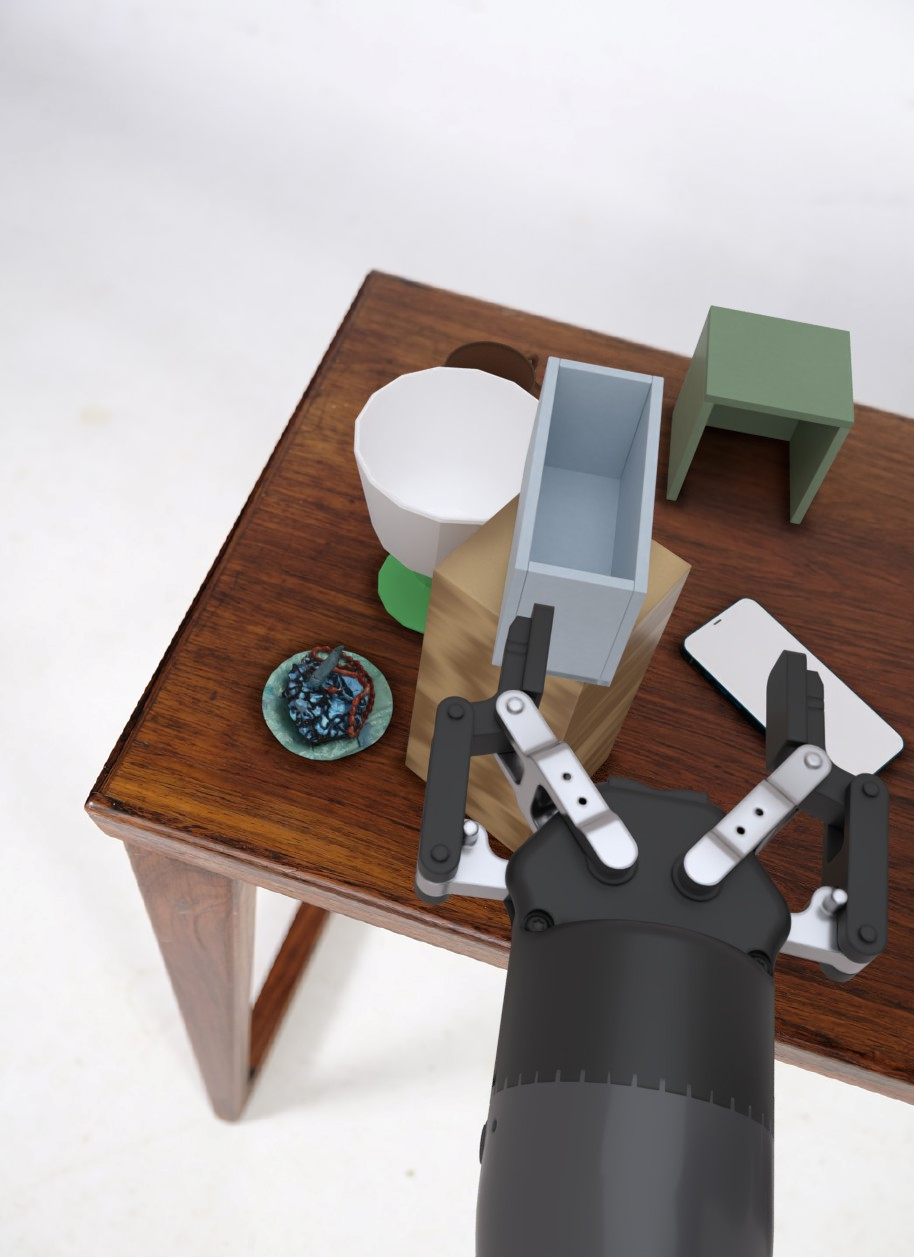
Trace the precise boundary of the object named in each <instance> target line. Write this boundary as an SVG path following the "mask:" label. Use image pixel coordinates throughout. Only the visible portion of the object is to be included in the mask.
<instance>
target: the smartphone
mask: <svg viewBox="0 0 914 1257" xmlns="http://www.w3.org/2000/svg"><path fill="white" fill-rule="evenodd" d="M783 650H789V651H794V652H800V653H805V654H806V656H807V670H812V671H817V672H818V673H819V676H820V678H821V680H822V682H823V684H824V712H825V747H826V752H827V754H828V756H829V757H830V759H831V760H832V762H833V763H834V764H835V765H837V766H838V767H840V768H841V769H843V770H845V771H847V772H849V773H851V774H853V775H855V776H857V775H858V774H861V773H870V774H873V775H876V776H877V775H878V774H879V773H880V772H881V771H882V770H883V769H884V768H886V767H887V766H888V765H889V764H891V763H892V762H893V761H894V760H895V759H896V758H897V757H899V756H900V754H901V753H902V752H903V751H904V750H905V746H906V744H905V740H904V737H903V736H902V735H901V734H900V733H899V731H897V729H895V728H894V727H893V725H891V724H890V723H889V722H887V720H886V719H885V718H883V717H882V716H881V714H879V713H878V712H877V711H876V710H875V709H874V708H873V707H871V705H870V704H868V703H867V702H866V701H865V700H864V699H863V698H862V697H861V696H860V695H859V694H858V693H856V691H855V690H854V689H853V688H851V686H849V685H848V684H847V683H846V682H845V681H843V679H842V678H841V677H840V676H838V675H837V674H836V673H835V671H833V670H831V669H830V668H829V667H828V666H827V665H826V664H825V663H824V662H823V661H822V660H821V659H820V658H818V656H817V655H815V654H814V652H813V651H811V649H809V648H808V647H807V646H806V645H805V644H804V643H803V642H801V641H800V640H799V639H798V638H797V637H796V636H795V635H794V634H793V633H792V632H791V631H790V630H788V628H786V626H784V625H783V624H782V623H781V622H780V621H779V620H777V618H775V616H773V615H772V614H771V613H770V612H769V611H768V610H767V609H766V608H765V607H763V605H762V604H761V603H759V602H758V601H757V600H755V599H754V598H751V597H741V598H739V599H737V600H736V601H734V602H733V603H732V604H730V605H729V606H727V607H726V608H724V609H722V610H721V611H720V612H719V613H718V614H716V615H715V616H713V617H712V618H711V619H709V620H708V621H706V622H704V624H702V625H700V626H699V627H698V628H696V629H695V630H694V631H692V632H690V633H689V634H687V635H686V636H685V637H684V639H683V641H682V643H681V645H680V652H681V655H682V656H683V657H684V659H685V660H686V661H687V662H688V663H689V664H690V665H691V666H692V667H693V668H694V669H696V671H697V672H698V673H699V674H700V675H701V676H703V677H704V679H705V680H707V681H708V682H709V683H710V684H711V686H713V687H714V689H716V691H718V692H719V693H720V694H721V695H722V696H723V697H724V698H725V699H726V700H727V701H728V702H729V703H730V704H731V705H732V706H733V707H734V708H735V710H737V711H738V712H739V713H740V714H741V715H742V716H743V717H744V718H745V719H746V720H747V721H748V722H750V724H751V725H752V726H753V727H754V728H755V729H757V731H759V733H760V734H762V735H763V737H765V738H766V687H767V681H768V677H769V674H770V672H771V670H772V668H773V667H774V665H775V663H776V661H777V660H778V658H779V656H780V655H781V653H782V651H783Z"/></svg>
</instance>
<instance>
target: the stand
mask: <svg viewBox="0 0 914 1257" xmlns="http://www.w3.org/2000/svg"><path fill="white" fill-rule="evenodd" d="M519 496H520V493H518V494H517V495H516V496H515V497H514V498H513V499H512V500H511V501H510V502H508V503H507V504H506V505H505V506H504V507H503V508H502V509H501V510H499V511H498V512H497V513H496V514H495V515H494V516H493V517H492V518H490V519H489V520H488V521H487V522H486V523H485V524H484V525H483V526H481V527H480V528H479V529H478V530H477V531H476V532H475V533H474V534H472V535H471V536H470V537H469V538H468V539H467V540H466V541H465V542H463V543H462V544H461V545H460V546H459V547H458V548H457V549H456V550H454V551H453V552H452V553H451V554H450V555H449V556H448V557H447V558H446V559H444V560H443V561H442V562H441V563H440V564H439V565H438V566H437V567H435V568H434V571H433V578H432V585H431V591H430V598H429V605H428V612H427V619H426V625H425V632H424V634H423V639H422V645H421V646H422V647H421V654H420V659H419V666H418V674H417V679H416V680H417V681H416V686H415V687H416V688H415V693H414V701H413V706H412V707H413V708H412V715H411V721H410V728H409V734H408V740H407V741H408V742H407V749H406V755H405V761H404V765H405V767H407V768H408V769H409V770H411V772H413V773H414V774H415V775H417V776H418V777H419V778H421V779H422V780H423V781H424V782H426V781H427V773H428V765H429V757H430V749H431V742H432V738H433V734H434V725H435V717H436V711H437V707H438V705H439V703H440V702H441V701H442V700H443V699H445V698H447V697H451V696H459V697H462V698H465V699H466V700H468V701H469V702H478V701H484V700H487V699H489V698H491V697H493V696H494V695H495V694H496V693H497V690H498V684H499V678H500V671H501V666H497V665H492V658H493V652H494V646H495V640H496V634H497V628H498V622H499V616H500V610H501V604H502V598H503V592H504V586H505V580H506V574H507V568H508V562H509V556H510V550H511V544H512V538H513V532H514V526H515V520H516V514H517V508H518V502H519ZM691 570H692V564H690V563H688V562H687V561H685V560H684V559H682V558H681V557H679V556H678V555H676V554H675V553H673V552H672V551H671V550H669V549H668V548H666V547H665V546H663V545H661V544H660V543H658V541H656V540H654V539H652V538H651V549H650V562H649V574H648V587H647V594H646V597H645V599H644V602H643V604H642V607H641V609H640V612H639V614H638V617H637V619H636V622H635V624H634V627H633V629H632V632H631V634H630V637H629V639H628V642H627V644H626V647H625V649H624V652H623V654H622V657H621V659H620V662H619V664H618V667H617V669H616V672H615V674H614V677H613V679H612V682H611V684H610V686H609V687H607V686H602V685H597V684H592V683H586V682H581V681H576V680H570V679H565V678H560V677H555V676H549V675H546V676H545V684H544V691H543V696H542V699H541V702H540V706H539V709H538V710H539V712H540V714H541V715H542V717H543V718H544V720H545V721H546V723H547V724H548V726H549V728H550V729H551V731H552V732H553V734H554V735H555V737H556V738H557V739H558V740H559V741H564V742H566V743H567V744H568V745H569V747H570V748H571V750H572V751H573V753H574V754H575V756H576V757H577V759H578V760H579V762H580V764H581V765H582V767H583V768H584V770H585V771H586V773H587V774H588V776H589V777H590V779H591V778H592V777H593V775H595V773H596V772H597V771H598V770H599V769H600V767H601V766H602V765H604V763H605V762H606V761H607V759H608V758H609V756H610V753H611V751H612V749H613V747H614V744H615V742H616V740H617V738H618V735H619V733H620V731H621V728H622V726H623V724H624V722H625V719H626V717H627V714H628V712H629V710H630V708H631V706H632V704H633V701H634V699H635V697H636V694H637V692H638V690H639V688H640V685H641V683H642V681H643V678H644V677H645V674H646V671H647V669H648V667H649V665H650V663H651V660H652V658H653V656H654V653H655V651H656V649H657V647H658V644H659V642H660V640H661V638H662V635H663V633H664V631H665V629H666V626H667V624H668V622H669V619H670V617H671V615H672V613H673V610H674V608H675V606H676V603H677V601H678V599H679V596H680V594H681V592H682V589H683V587H684V585H685V583H686V581H687V578H688V576H689V574H690V572H691ZM465 815H467V816H468V817H469V818H470V819H471V820H474V821H476V822H478V823H480V824H481V825H482V826H483V827H484V828H485V830H486V832H487V833H488V834H490V835H491V836H493V837H494V838H495V839H497V840H498V841H499V842H500V843H502V844H503V845H504V846H505V847H506V848H508V849H509V850H510V851H511V852H513V853H514V852H515V851H516V850H517V849H518V848H519V847H520V846H521V845H522V844H523V843H524V842H525V841H526V840H527V839H529V838H530V837H531V836H532V835H533V834H534V833H533V832H532V830H531V828H530V827H529V825H528V823H527V822H526V820H525V818H524V817H523V815H522V813H521V812H520V810H519V808H518V805H517V802H516V798H515V793H514V790H513V788H512V787H511V785H510V783H509V782H508V780H507V778H506V777H505V775H504V773H503V772H502V770H501V768H500V767H499V765H498V763H497V762H496V760H495V759H494V757H493V755H492V754H488V755H481V756H473V757H471V759H470V769H469V779H468V789H467V799H466V809H465Z"/></svg>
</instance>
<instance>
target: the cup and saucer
mask: <svg viewBox="0 0 914 1257" xmlns="http://www.w3.org/2000/svg"><path fill="white" fill-rule="evenodd" d="M539 357H540V356H539V355H538V352H535V351H531V352H528V353H526V354H523V353H522V352H521V351H519V350H518V349H516V348H515V347H512V346H510V345H507V344H505V343H502V342H497V341H492V340H491V341H490V340H478V341H477V340H476V341H470V342H468V343H464V344H462V345H460V346H458V347H457V348H455V349H453V350H452V351H451V352H450V353H449V354H448V356H447V357H446V359H445V361H444V364H443V365H441V366H439V367H450V368H466V369H478V370H481V371H484V372H487V373H490V374H492V375H495V376H498V377H501V378H504V379H507V380H509V381H512V382H514V383H516V384H517V385H518V386H520V387H521V388H522V389H524V390H525V391H527V392H528V393H529V394H531V395H532V396H533V397H535V398H536V399H537V400H539V398H540V393H541V389H542V385H541V384H539V383H538V381H537V380H536V379H537V375H536V369H537V367H538V365H539V362H540V358H539Z"/></svg>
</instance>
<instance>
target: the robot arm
mask: <svg viewBox="0 0 914 1257" xmlns="http://www.w3.org/2000/svg"><path fill="white" fill-rule="evenodd" d="M554 610H555V606H549V605H544V604H538V603H534V606H533V610H532V614H531V618H529V617H523V616H518V615H517V616H516V618H515V619H514V621H513V622H512V623H511V625H510V626H509V630H508V635H507V639H506V643H505V648H504V653H503V659H502V665H501V671H500V678H499V684H498V690H497V693H496V694H495V695H494V696H493V697H491V698H489V699H487V700H484V701H478V702H469V701H468V700H466V699H465V698H462V697H459V696H451V697H447V698H445V699H443V700H442V701H441V702H440V703H439V705H438V707H437V711H436V717H435V725H434V734H433V738H432V742H431V749H430V757H429V765H428V773H427V781H425V790H424V799H423V806H422V815H421V823H420V832H419V839H418V847H417V856H416V862H415V864H416V865H415V871H414V880H413V890H414V893H415V895H416V897H417V898H418V899H419V901H421V902H423V903H424V904H427V905H430V906H438V905H441V904H444V903H445V902H447V901H448V900H449V899H450V898H451V896H452V895H457V896H465V897H473V898H481V899H487V900H488V899H489V900H495V901H502V903H503V905H504V908H505V910H506V912H507V915H508V918H509V923H510V929H511V941H510V948H509V955H508V964H507V971H506V978H505V986H504V992H503V1000H502V1007H501V1015H500V1022H499V1030H498V1036H497V1037H498V1038H497V1044H496V1053H495V1059H494V1065H493V1073H492V1081H491V1089H490V1095H489V1096H490V1098H489V1106H488V1112H487V1118H486V1121H485V1123H484V1124H483V1127H482V1129H481V1135H480V1140H479V1141H480V1142H479V1150H478V1153H479V1154H478V1158H479V1160H478V1161H479V1164H480V1172H479V1180H478V1186H477V1196H476V1197H477V1198H476V1209H475V1232H474V1234H475V1236H474V1237H475V1238H474V1240H475V1241H474V1242H475V1248H474V1249H475V1254H474V1255H475V1257H774V1243H775V1242H774V1239H775V1058H776V1057H775V1056H776V1054H775V1053H776V1052H775V1051H776V1050H775V1046H776V1045H775V1043H776V1041H775V1038H776V1036H775V1034H776V1033H775V1032H776V1028H775V1027H776V1024H775V1023H776V983H775V982H776V981H775V965H776V962H777V958H778V956H779V954H780V953H781V954H785V955H789V956H793V957H797V958H801V959H805V960H809V961H813V962H817V963H818V967H819V969H820V971H821V972H822V973H823V975H824V976H825V977H826V978H828V979H830V980H832V981H834V982H838V983H846V982H849V981H850V980H852V979H853V978H854V977H855V976H857V974H859V973H860V972H861V971H862V970H863V969H864V968H865V967H867V966H868V965H869V964H870V963H871V962H872V961H874V960H875V959H876V958H877V957H878V956H879V955H881V953H883V952H884V951H885V950H886V949H887V946H888V943H889V942H888V941H889V862H890V861H889V858H890V857H889V856H890V855H889V854H890V853H889V851H890V849H889V848H890V841H889V840H890V791H889V788H888V785H887V784H886V782H885V781H884V780H883V779H882V778H880V777H879V776H878V775H877V774H876V775H873V774H870V773H861V774H858V775H857V776H855V775H853V774H851V773H849V772H847V771H845V770H843V769H841V768H840V767H838V766H837V765H835V764H834V763H833V762H832V760H831V759H830V757H829V756H828V754H827V752H826V747H825V712H824V684H823V682H822V680H821V678H820V676H819V673H818V672H817V671H812V670H807V656H806V654H805V653H800V652H794V651H789V650H783V651H782V653H781V655H780V656H779V658H778V660H777V661H776V663H775V665H774V667H773V668H772V670H771V672H770V674H769V677H768V681H767V687H766V737H765V772H767V773H770V775H769V776H768V777H766V778H764V779H762V780H761V781H760V782H759V783H758V784H756V786H755V787H754V788H753V789H752V790H751V791H750V792H749V793H748V794H747V795H745V797H744V798H743V799H742V800H740V801H739V803H738V804H737V805H735V806H734V807H733V809H732V810H730V811H729V812H728V813H727V812H726V811H724V809H723V808H721V807H720V806H719V805H717V804H715V803H713V802H712V801H710V800H709V799H710V793H709V792H708V793H707V792H702V791H696V790H692V789H687V788H678V789H662V790H661V789H656V788H654V787H652V786H649V785H647V784H644V783H642V782H640V781H638V780H636V779H633V778H626V777H622V776H615V775H611V774H610V775H608V777H607V779H606V781H602V782H597V783H594V782H593V781H592V779H591V778H590V777H589V776H588V774H587V773H586V771H585V770H584V768H583V767H582V765H581V764H580V762H579V760H578V759H577V757H576V756H575V754H574V753H573V751H572V750H571V748H570V747H569V745H568V744H567V743H566V742H564V741H559V740H558V739H557V738H556V737H555V735H554V734H553V732H552V731H551V729H550V728H549V726H548V724H547V723H546V721H545V720H544V718H543V717H542V715H541V714H540V712H539V710H538V709H539V706H540V702H541V699H542V696H543V691H544V684H545V676H546V669H547V662H548V654H549V647H550V640H551V632H552V625H553V617H554ZM488 754H492V755H493V757H494V759H495V760H496V762H497V763H498V765H499V767H500V768H501V770H502V772H503V773H504V775H505V777H506V778H507V780H508V782H509V783H510V785H511V787H512V788H513V790H514V793H515V798H516V802H517V805H518V808H519V810H520V812H521V813H522V815H523V817H524V818H525V820H526V822H527V823H528V825H529V827H530V828H531V830H532V832H533V833H534V834H533V835H532V836H531V837H530V838H529V839H527V840H526V841H525V842H524V843H523V844H522V845H521V846H520V847H519V848H518V849H517V850H516V851H515V852H513V853H512V854H511V856H510V857H509V859H504V858H502V857H500V856H498V855H496V854H495V853H494V851H493V850H492V848H491V847H490V843H489V835H488V831H487V830H485V828H484V827H483V826H482V825H481V824H480V823H478V822H476V821H474V820H473V819H471V818H470V819H469V818H466V814H465V809H466V799H467V789H468V779H469V769H470V759H471V757H473V756H481V755H488ZM800 811H801V812H803V813H805V814H806V815H809V816H811V817H813V818H815V819H817V820H819V821H820V822H823V830H822V832H823V833H822V851H821V852H822V855H821V873H820V874H821V876H820V877H821V878H820V887H818V888H817V889H816V890H815V891H814V892H813V893H812V894H811V896H810V897H809V898H808V899H807V900H806V901H805V902H804V904H803V905H802V908H801V911H800V912H791V908H790V905H789V904H788V902H787V900H786V898H785V897H784V895H783V894H782V892H781V890H780V888H778V886H777V885H776V883H775V882H774V880H773V879H772V877H771V875H770V874H769V873H768V872H767V870H766V868H765V867H764V865H763V864H762V862H761V861H760V859H759V857H758V856H759V855H760V854H761V852H762V851H763V850H764V849H765V848H766V847H767V846H768V845H769V843H770V842H771V841H772V840H773V839H774V838H775V837H776V836H777V835H778V834H779V833H780V832H781V831H782V830H783V829H784V828H785V827H786V826H787V824H789V822H790V821H791V820H793V818H794V817H795V816H796V815H798V813H799V812H800Z"/></svg>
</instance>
